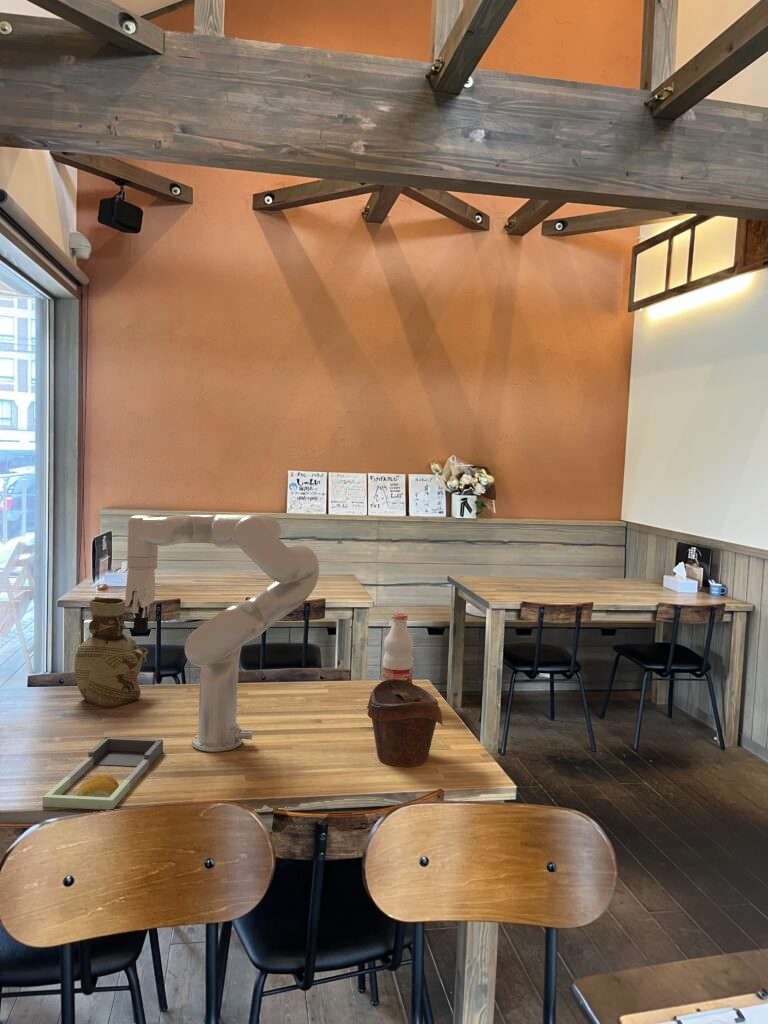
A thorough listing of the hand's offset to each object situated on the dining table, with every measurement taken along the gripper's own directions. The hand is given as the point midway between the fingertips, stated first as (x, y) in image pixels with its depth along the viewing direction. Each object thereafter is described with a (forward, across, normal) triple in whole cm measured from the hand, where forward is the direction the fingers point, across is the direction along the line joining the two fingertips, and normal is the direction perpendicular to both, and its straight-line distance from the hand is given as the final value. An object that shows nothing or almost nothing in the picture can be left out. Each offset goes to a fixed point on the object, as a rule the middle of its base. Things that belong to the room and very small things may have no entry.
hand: (140, 632), depth 193 cm
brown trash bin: (+27, +10, +70) cm, 76 cm away
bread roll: (+28, +37, +4) cm, 47 cm away
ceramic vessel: (+27, -28, -18) cm, 43 cm away
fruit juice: (+27, -33, +69) cm, 81 cm away
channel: (+27, +28, +3) cm, 39 cm away
